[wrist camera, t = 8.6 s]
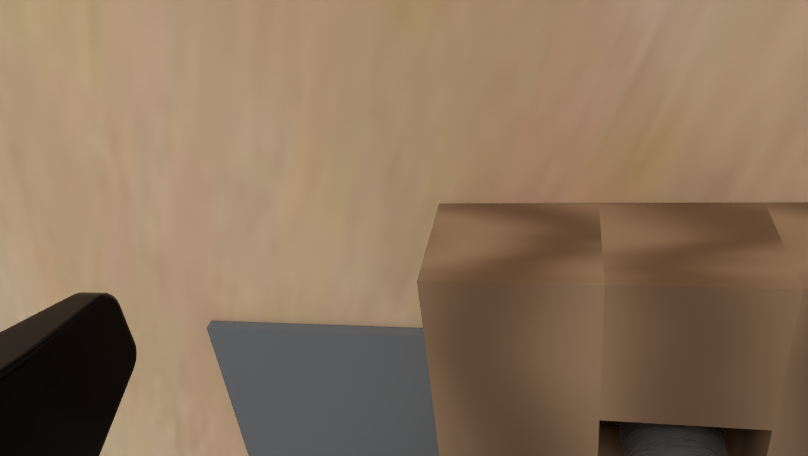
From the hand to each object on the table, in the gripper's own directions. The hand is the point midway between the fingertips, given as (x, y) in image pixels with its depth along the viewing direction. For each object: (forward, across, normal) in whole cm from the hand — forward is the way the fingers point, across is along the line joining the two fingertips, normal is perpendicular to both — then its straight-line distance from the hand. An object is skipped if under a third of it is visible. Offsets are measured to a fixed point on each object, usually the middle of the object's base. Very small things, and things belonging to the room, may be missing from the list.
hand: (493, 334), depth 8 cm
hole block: (+13, -4, +13) cm, 19 cm away
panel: (+13, +7, +16) cm, 22 cm away
